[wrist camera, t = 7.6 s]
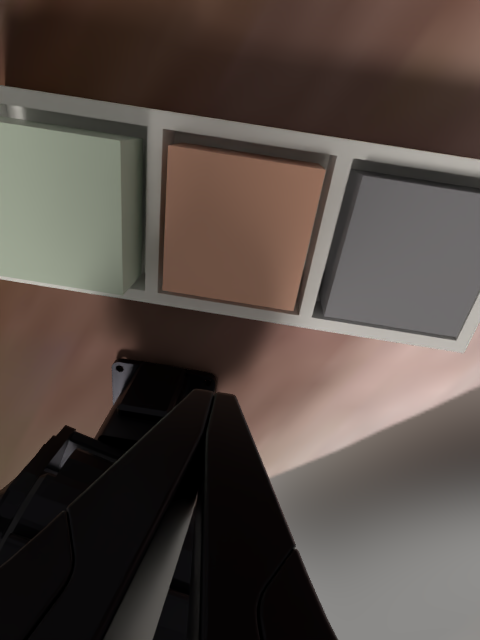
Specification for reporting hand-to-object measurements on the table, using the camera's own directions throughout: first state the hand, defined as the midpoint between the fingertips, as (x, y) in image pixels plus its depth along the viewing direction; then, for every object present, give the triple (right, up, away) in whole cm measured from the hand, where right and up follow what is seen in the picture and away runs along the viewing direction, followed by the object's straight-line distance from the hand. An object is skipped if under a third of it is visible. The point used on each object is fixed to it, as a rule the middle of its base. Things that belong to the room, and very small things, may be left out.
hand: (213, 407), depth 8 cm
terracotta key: (+1, +6, +10) cm, 12 cm away
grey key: (+8, +5, +10) cm, 14 cm away
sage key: (-7, +7, +9) cm, 13 cm away
